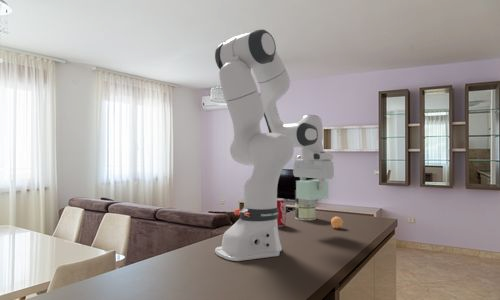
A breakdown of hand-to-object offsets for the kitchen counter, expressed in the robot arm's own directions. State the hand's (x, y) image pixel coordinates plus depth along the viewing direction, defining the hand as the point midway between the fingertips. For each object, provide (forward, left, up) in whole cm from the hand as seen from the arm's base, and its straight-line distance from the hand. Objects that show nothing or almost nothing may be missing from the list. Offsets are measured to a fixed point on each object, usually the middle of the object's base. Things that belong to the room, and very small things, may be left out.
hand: (312, 189), depth 139 cm
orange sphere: (+14, 0, -15) cm, 21 cm away
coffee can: (+18, +24, -18) cm, 35 cm away
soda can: (-4, +18, -18) cm, 26 cm away
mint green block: (0, 0, -4) cm, 4 cm away
